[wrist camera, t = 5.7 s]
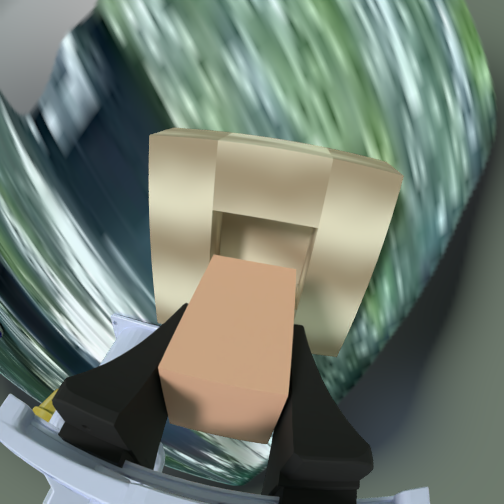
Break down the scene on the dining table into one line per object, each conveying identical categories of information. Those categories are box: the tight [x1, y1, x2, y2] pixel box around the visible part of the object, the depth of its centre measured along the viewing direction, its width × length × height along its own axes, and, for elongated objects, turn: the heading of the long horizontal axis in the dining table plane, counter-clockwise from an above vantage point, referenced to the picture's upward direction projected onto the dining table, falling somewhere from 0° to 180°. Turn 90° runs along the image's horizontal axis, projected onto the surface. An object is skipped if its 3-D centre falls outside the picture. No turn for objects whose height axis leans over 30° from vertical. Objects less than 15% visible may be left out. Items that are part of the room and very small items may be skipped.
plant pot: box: [33, 389, 58, 422], centre depth 39 cm, size 10×10×10 cm
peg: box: [158, 255, 296, 444], centre depth 12 cm, size 4×4×7 cm
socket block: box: [149, 128, 403, 357], centre depth 20 cm, size 14×14×4 cm
